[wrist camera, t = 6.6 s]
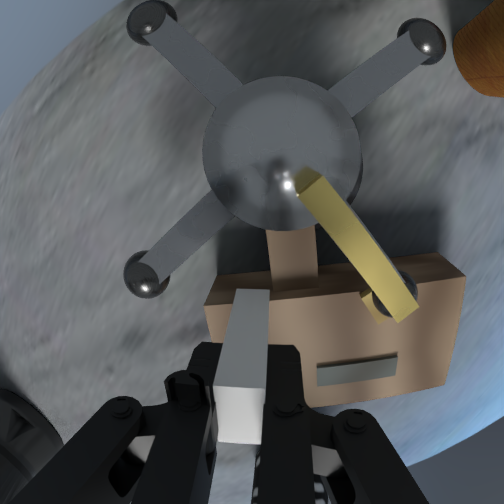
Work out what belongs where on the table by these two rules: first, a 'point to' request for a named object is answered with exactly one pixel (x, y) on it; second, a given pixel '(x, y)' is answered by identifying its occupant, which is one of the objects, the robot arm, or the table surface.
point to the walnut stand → (349, 321)
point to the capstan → (281, 154)
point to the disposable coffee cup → (483, 50)
